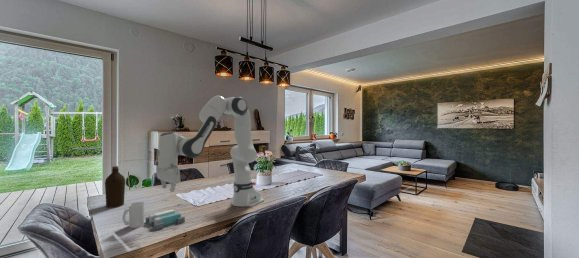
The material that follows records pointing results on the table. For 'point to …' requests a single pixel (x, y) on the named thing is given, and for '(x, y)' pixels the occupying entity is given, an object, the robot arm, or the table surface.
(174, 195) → the table surface
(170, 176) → the robot arm
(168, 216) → the teal rectangular block
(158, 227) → the cord comb
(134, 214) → the mug
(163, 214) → the grey elongated block
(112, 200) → the olive oil
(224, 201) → the table surface
